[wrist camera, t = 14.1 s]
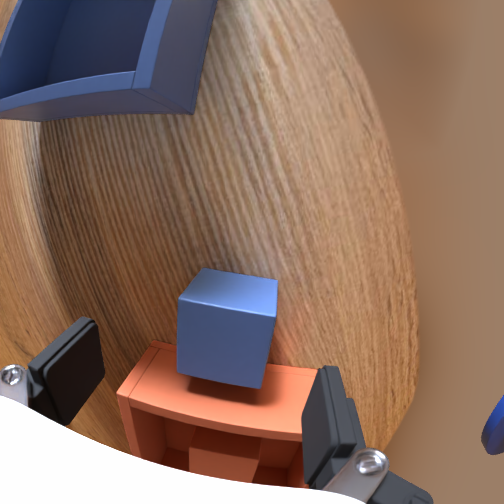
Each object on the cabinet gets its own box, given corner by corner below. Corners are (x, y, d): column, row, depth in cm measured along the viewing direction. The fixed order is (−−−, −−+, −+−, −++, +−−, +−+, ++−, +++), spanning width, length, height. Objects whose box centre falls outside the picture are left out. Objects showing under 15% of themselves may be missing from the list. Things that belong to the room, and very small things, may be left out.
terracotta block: (264, 413, 18) (259, 460, 14) (255, 445, 20) (249, 488, 15) (203, 402, 19) (188, 447, 14) (201, 435, 20) (189, 476, 16)
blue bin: (230, -44, 11) (213, -97, 5) (194, 115, 14) (149, 88, 9) (80, -15, 12) (40, -42, 6) (39, 122, 15) (-19, 118, 10)
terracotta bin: (336, 371, 18) (350, 435, 12) (294, 466, 21) (293, 515, 16) (153, 339, 18) (115, 392, 13) (162, 442, 22) (142, 487, 16)
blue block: (278, 279, 16) (276, 316, 12) (266, 343, 18) (260, 390, 13) (202, 266, 17) (177, 297, 12) (197, 331, 18) (176, 373, 14)
